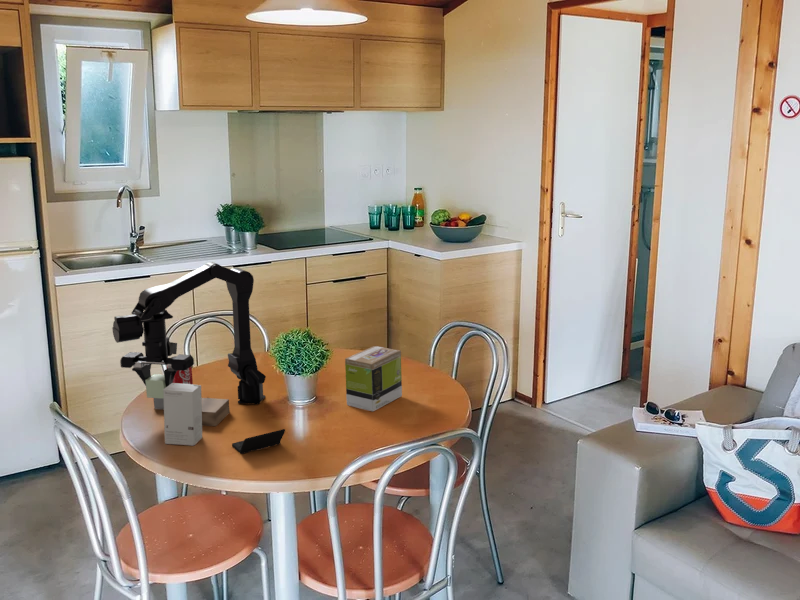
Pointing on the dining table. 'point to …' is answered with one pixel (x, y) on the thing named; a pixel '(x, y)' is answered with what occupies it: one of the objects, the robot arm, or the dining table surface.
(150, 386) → the sage block
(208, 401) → the walnut slab
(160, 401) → the grey block
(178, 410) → the skincare box
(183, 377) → the soda can
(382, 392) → the tea box
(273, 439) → the black angled piece
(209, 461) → the dining table surface
